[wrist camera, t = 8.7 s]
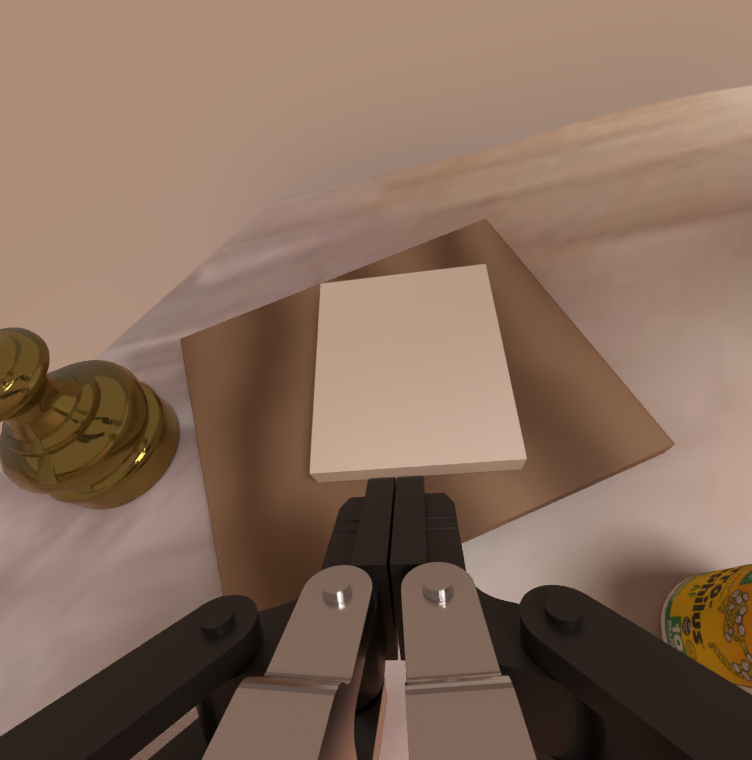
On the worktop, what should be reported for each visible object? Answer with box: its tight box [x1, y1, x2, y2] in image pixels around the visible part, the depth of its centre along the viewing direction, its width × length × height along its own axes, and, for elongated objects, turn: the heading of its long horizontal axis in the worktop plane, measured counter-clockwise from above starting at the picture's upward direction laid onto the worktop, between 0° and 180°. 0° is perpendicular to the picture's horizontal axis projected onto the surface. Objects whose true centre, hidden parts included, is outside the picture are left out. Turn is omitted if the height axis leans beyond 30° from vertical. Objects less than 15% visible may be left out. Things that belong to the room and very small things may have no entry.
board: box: [181, 219, 675, 612], centre depth 24 cm, size 22×18×1 cm
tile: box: [310, 264, 527, 483], centre depth 23 cm, size 10×2×12 cm
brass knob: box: [0, 328, 179, 509], centre depth 21 cm, size 7×7×10 cm
